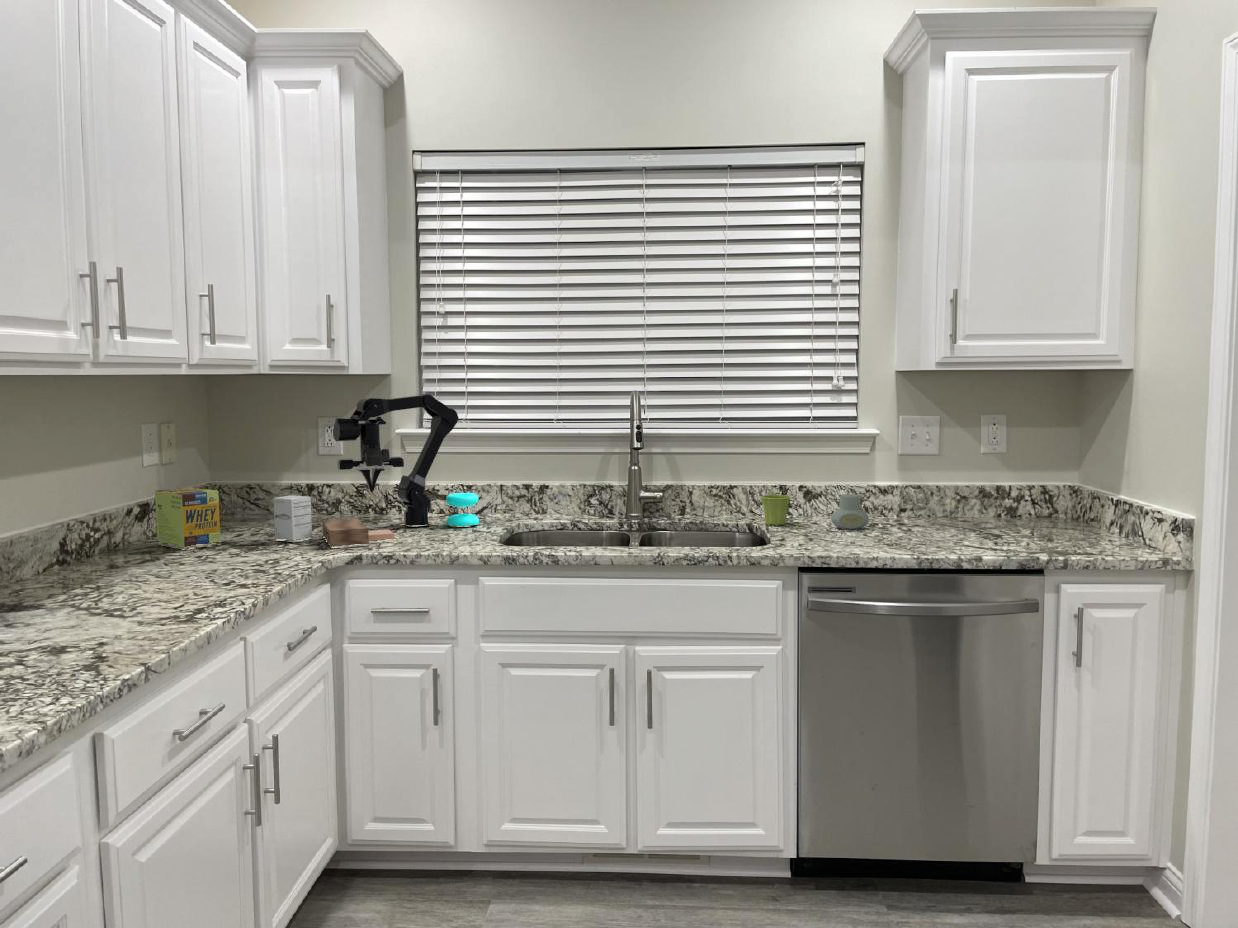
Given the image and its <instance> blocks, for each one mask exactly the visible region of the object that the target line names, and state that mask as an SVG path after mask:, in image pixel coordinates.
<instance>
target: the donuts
mask: <svg viewBox="0 0 1238 928" xmlns="http://www.w3.org/2000/svg"><path fill="white" fill-rule="evenodd" d="M478 501H479V496H478V494H476V493H472V492H457V493H451V494H448V495H447V496H446V498H445V502H446V503H447V505H449V506H452V507H455V508H465V507H467V508H468V507H473V506H474V505H476V504H478ZM479 523H480V519H479V517H478V516H477V515H475V514H472V513H457V514H456V513H455V514H453V515H450V516H449V517H448V518H447V519H446V525H447V526H448V525H456V526H466V525H477V524H478V525H479ZM478 525H477V526H478Z"/></svg>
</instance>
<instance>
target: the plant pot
mask: <svg viewBox="0 0 1238 928" xmlns="http://www.w3.org/2000/svg"><path fill="white" fill-rule="evenodd" d="M759 498H760V499H761V504H762V507H763V512H764V513H763V514H764V515H763V516H764V522H765V525H768V526H771V525H773V526H784V525H786V523H787V514H788V510H789V509H788V508H789V503H790V499H792V496H791V495H783V494H763V495H760V496H759Z"/></svg>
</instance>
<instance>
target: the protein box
mask: <svg viewBox="0 0 1238 928" xmlns="http://www.w3.org/2000/svg"><path fill="white" fill-rule="evenodd" d="M154 501H155V518H156V519H155V520H156V521H155V523H156V538H157V539H156V542H157V541H159V542H164V543H168V544H176V545H179V546H183V547H186V546H191V545H196V544H208V543H213V542H219V541H221V540H222V539H221V524H220V521H221V520H220V503H219V502H220V501H219V490H216V489H208V488H207V489H206V488H196V487H185V488H183V487H182V488H172V489H170V488H169V489H158V490H154Z"/></svg>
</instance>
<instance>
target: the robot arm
mask: <svg viewBox="0 0 1238 928" xmlns="http://www.w3.org/2000/svg"><path fill="white" fill-rule="evenodd" d="M417 408H419V409H420V408H422V409H424V411H425V412H426V413H427V414H428V415H429V416H430V417H431V422H430V432H429V434H428V436H427V439H426V440H425V443H424V445H423V447H422V449H421V451H420V453H419V456H418V457H417V460H416V462H415V464H414V467H413V468H412V471H411V472H410V473H409V474H408V475H402V476H401V478H400V482H399V483H398V484H397V486H396V487H397V491H396V493H397V497H398V498H399V500H401V502H402V503H403V506H404V507H405V511H403V523H404V526H405V525H425V524H429V513H428V512H429V510H428V509H429V508H430V506H431V501H432V500H431V499H430V498H429V497H428V496H426V495H425V489H426V479H427V476H428V473H429V471H430V470H431V467H432V465H433V463H434V460H435V459H436V457H437V454H438V452H439V450H440V448H441V445H442V444H443V441H444V439H445V438H446V437H447V436H448V435H449V434H450V433H451V431H453V429H454V428H455V427H456V425H457V423H458V421H459V415H458V412H457V411H456V410H455V409H453V408H449V406H447V405H446V404H444V403H443V402H441V401H439V400H438V399H437V398H435V396H433V395H432V394H431V393H422V394H419V395H413V396H412V395H411V396H405V397H404V396H403V397H393V398H378V397H377V398H374V397H363V398H361V399H359V400H358V401H357V404H356V408H355V410H354V411H353V413H352V415H351V416H350V418H342V417H336V418H335V419H334V420H335V421H334V424H333V428H332V436H333V439H334V441H335V442H354V441H357V440H358V438H359V445H360V446H359V447H360V460H354V459H353V458H339V459H337V464H336V465H337V469H338V470H340V471H341V470H352V469H353V468H357V469H356V471H358V472H361V474H362V476H363V478H364V479H365V482H366V485H367V487H368V490H369V491H370V493H373V492H374V491H375V488H376V484H377V481H378V478H379V475H380V474H381V472H382V471H385V468H384V467H385V466H389V467H393V468H403V467H404V468H405V461H404V458H402V457H401V456H390V450H389V448H383V449H381V439H380V438H381V435H380V433H381V432H380V431H381V430H380V425H386V424H387V422H386V421H385V420H384V419H383V418H382V417H381V416H383V415H386V414H387V413H391V412H396V411H401V410H409V409H417ZM372 418H373V419H372ZM369 467H371V469H369Z"/></svg>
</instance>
